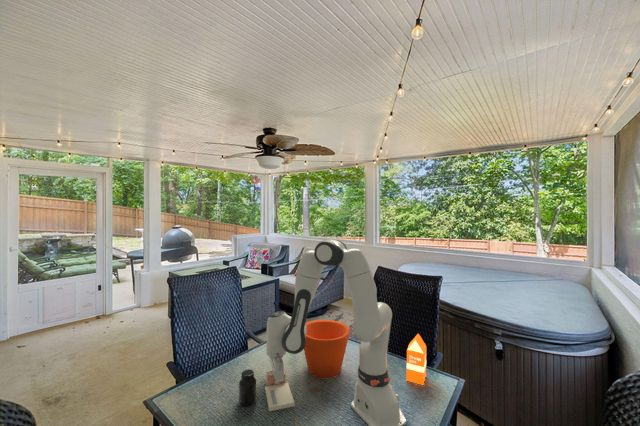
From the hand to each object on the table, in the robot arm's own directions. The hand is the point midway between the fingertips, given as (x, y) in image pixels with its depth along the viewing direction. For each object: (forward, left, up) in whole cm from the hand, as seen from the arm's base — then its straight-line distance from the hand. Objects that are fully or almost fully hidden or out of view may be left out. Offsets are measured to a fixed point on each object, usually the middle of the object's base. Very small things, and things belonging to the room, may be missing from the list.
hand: (275, 379), depth 124 cm
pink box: (0, 0, -2) cm, 2 cm away
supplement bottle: (-8, +13, -2) cm, 16 cm away
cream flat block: (-9, 0, -2) cm, 10 cm away
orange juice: (-14, -64, -2) cm, 66 cm away
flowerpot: (+6, -25, -2) cm, 26 cm away
